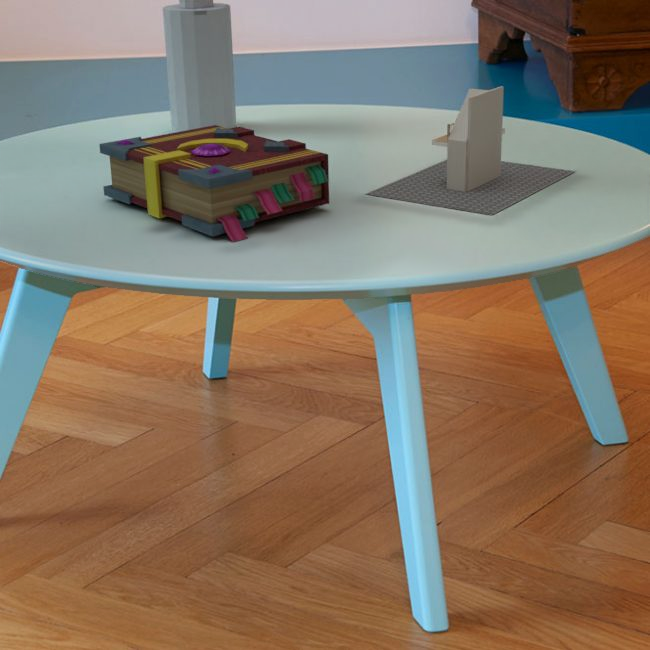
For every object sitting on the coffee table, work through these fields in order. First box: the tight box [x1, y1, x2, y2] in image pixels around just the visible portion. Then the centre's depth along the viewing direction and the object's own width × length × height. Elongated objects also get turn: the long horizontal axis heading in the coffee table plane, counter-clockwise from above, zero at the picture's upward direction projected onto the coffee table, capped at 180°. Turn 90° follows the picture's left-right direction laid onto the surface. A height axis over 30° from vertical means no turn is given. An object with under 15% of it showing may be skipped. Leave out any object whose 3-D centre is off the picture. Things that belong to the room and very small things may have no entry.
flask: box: [162, 0, 237, 133], centre depth 111 cm, size 6×6×16 cm
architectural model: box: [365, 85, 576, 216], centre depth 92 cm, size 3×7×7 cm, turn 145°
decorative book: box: [99, 125, 330, 243], centre depth 87 cm, size 11×16×5 cm
